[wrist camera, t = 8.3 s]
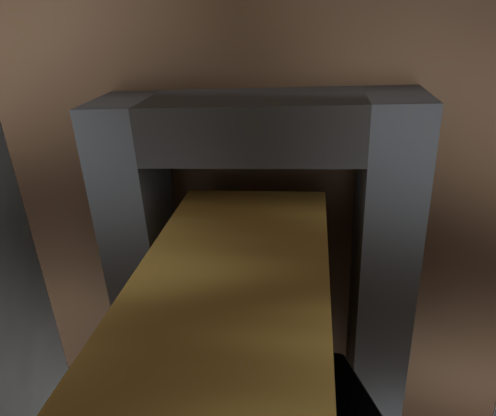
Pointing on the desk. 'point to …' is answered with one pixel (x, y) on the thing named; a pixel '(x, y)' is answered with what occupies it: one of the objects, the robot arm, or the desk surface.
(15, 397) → the desk surface
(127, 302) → the keyed peg
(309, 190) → the socket holder
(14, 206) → the desk surface
